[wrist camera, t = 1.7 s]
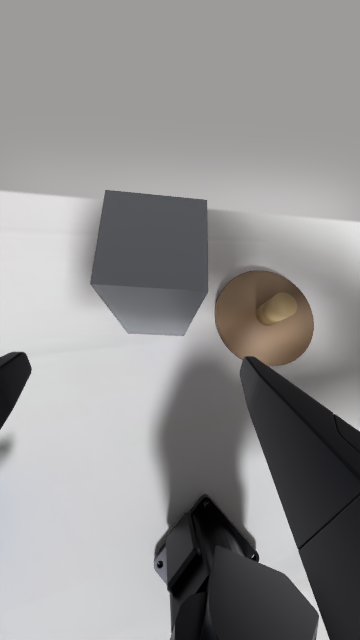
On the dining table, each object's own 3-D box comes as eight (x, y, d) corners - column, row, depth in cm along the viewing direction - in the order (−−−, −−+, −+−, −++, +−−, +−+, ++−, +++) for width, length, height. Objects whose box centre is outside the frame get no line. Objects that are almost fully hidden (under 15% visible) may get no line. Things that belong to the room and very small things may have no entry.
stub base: (323, 320, 24) (360, 307, 20) (268, 388, 21) (297, 391, 17) (255, 259, 26) (275, 234, 21) (195, 315, 23) (203, 300, 18)
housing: (183, 335, 22) (208, 291, 11) (127, 333, 22) (90, 284, 10) (184, 285, 24) (207, 200, 12) (132, 282, 23) (105, 189, 12)
